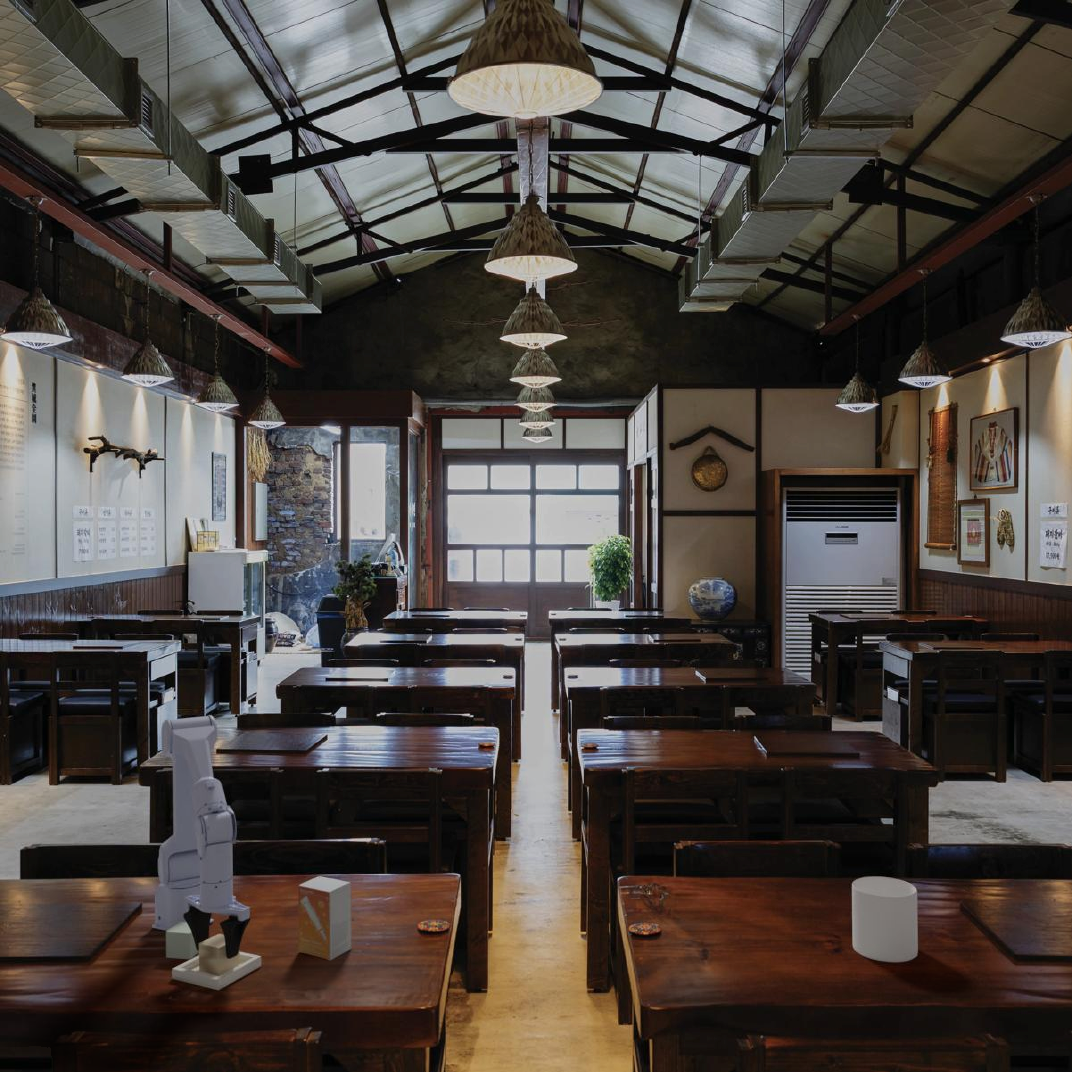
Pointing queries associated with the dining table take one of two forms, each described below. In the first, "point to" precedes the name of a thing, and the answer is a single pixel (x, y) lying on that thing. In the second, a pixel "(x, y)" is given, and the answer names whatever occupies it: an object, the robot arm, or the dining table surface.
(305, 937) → the small box
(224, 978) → the tray
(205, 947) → the maple cube
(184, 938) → the sage cube
